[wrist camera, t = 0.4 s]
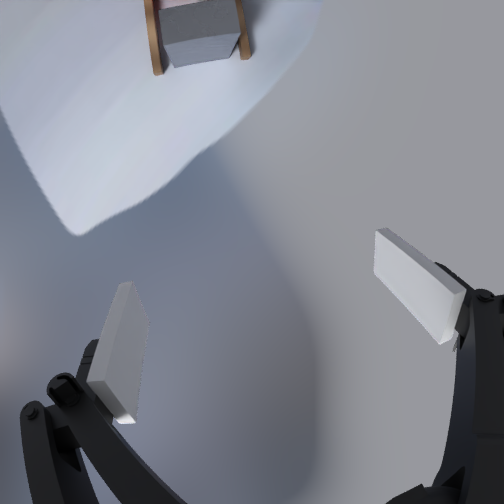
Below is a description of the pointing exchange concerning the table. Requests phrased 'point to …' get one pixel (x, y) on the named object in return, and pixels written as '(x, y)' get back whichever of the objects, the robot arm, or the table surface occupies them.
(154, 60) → the frame
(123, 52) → the table surface
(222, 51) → the block
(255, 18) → the table surface
